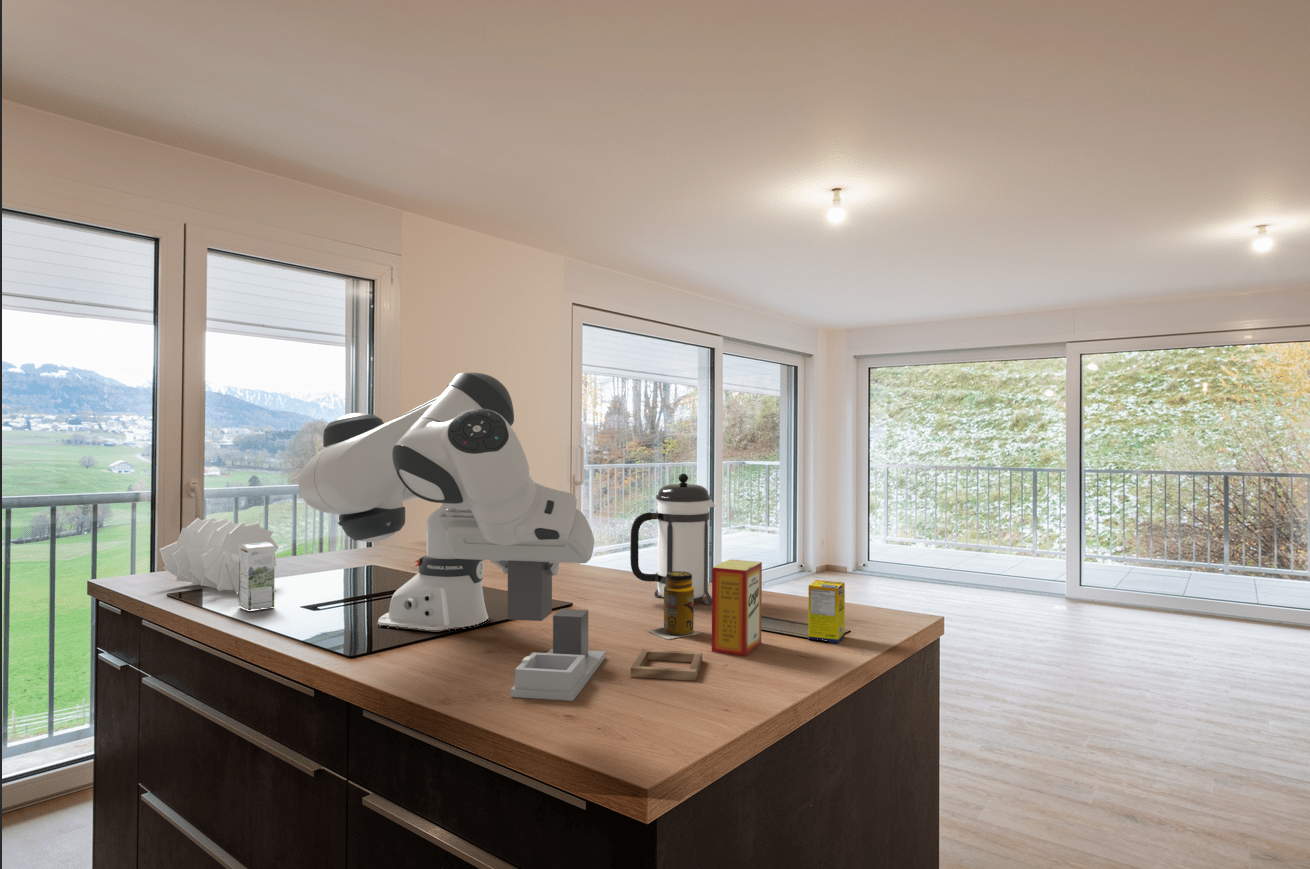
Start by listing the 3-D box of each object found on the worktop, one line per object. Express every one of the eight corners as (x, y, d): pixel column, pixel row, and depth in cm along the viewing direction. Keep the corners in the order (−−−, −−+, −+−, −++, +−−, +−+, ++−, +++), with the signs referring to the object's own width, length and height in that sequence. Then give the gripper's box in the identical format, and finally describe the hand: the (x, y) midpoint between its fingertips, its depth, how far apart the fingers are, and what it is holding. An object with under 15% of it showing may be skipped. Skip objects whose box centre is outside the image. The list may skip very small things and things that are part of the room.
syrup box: (265, 604, 185) (264, 541, 185) (275, 608, 181) (274, 544, 181) (238, 608, 181) (238, 544, 181) (248, 613, 177) (247, 547, 176)
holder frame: (630, 676, 135) (630, 668, 135) (642, 657, 146) (642, 649, 146) (695, 680, 133) (695, 671, 133) (702, 660, 144) (702, 652, 144)
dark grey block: (507, 619, 114) (507, 534, 114) (519, 611, 119) (519, 529, 119) (541, 621, 114) (541, 535, 113) (552, 612, 119) (552, 530, 118)
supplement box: (844, 636, 160) (845, 581, 160) (838, 644, 155) (838, 587, 154) (815, 632, 163) (815, 579, 162) (807, 640, 157) (808, 584, 157)
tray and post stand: (573, 700, 124) (573, 641, 123) (510, 696, 125) (510, 638, 125) (605, 657, 145) (605, 607, 145) (551, 655, 147) (551, 604, 147)
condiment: (702, 633, 162) (702, 574, 162) (667, 640, 157) (667, 579, 157) (681, 625, 168) (681, 568, 168) (647, 631, 163) (647, 572, 163)
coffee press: (670, 590, 201) (671, 470, 201) (726, 598, 192) (727, 473, 191) (628, 603, 187) (628, 474, 186) (685, 613, 178) (686, 477, 177)
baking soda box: (729, 638, 158) (729, 557, 158) (761, 642, 155) (761, 560, 155) (711, 651, 150) (712, 565, 149) (745, 656, 147) (745, 568, 146)
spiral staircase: (210, 595, 211) (270, 602, 198) (145, 577, 197) (205, 583, 185) (236, 529, 218) (295, 531, 205) (175, 506, 204) (234, 507, 191)
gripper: (427, 528, 107) (457, 586, 117) (578, 532, 103) (595, 592, 113) (441, 491, 111) (469, 550, 121) (586, 494, 108) (602, 555, 118)
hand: (531, 570), depth 117 cm, fingers closed on dark grey block, 5 cm apart
